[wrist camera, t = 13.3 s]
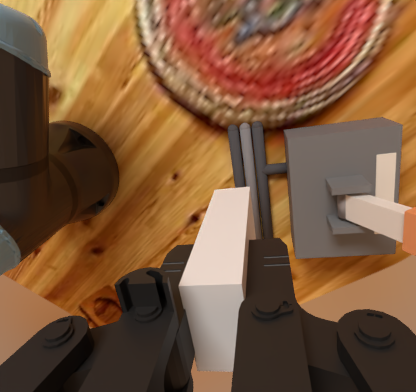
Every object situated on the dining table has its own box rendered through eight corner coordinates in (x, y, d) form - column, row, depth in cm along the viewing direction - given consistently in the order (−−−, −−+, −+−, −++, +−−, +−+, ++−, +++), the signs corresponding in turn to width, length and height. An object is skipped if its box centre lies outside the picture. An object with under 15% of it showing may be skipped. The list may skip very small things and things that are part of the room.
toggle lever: (332, 219, 37) (428, 261, 27) (331, 188, 36) (432, 220, 26) (347, 213, 38) (446, 252, 28) (347, 182, 37) (450, 211, 27)
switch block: (291, 236, 47) (298, 274, 38) (283, 130, 41) (290, 145, 33) (378, 231, 44) (407, 270, 36) (382, 117, 39) (417, 130, 30)
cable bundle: (244, 249, 49) (243, 254, 48) (227, 124, 42) (226, 126, 41) (297, 246, 47) (298, 251, 46) (288, 116, 41) (289, 117, 39)
